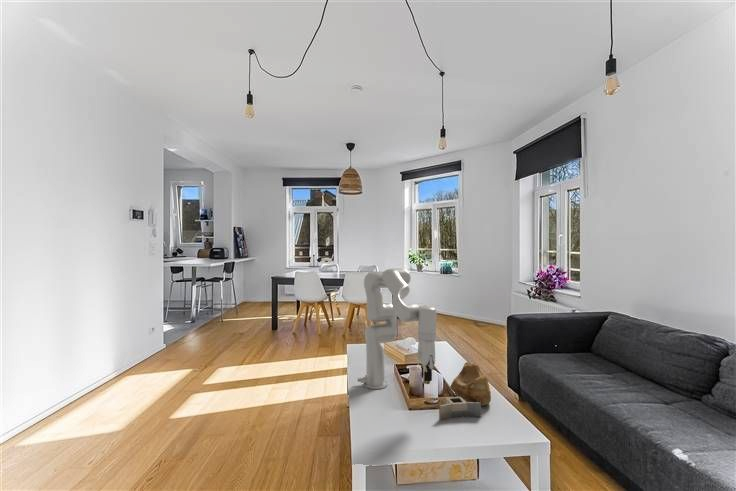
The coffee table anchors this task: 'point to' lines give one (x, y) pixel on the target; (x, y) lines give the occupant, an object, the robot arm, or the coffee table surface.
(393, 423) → the coffee table surface
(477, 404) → the hinge
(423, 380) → the hinge pin
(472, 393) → the rough brown rock
